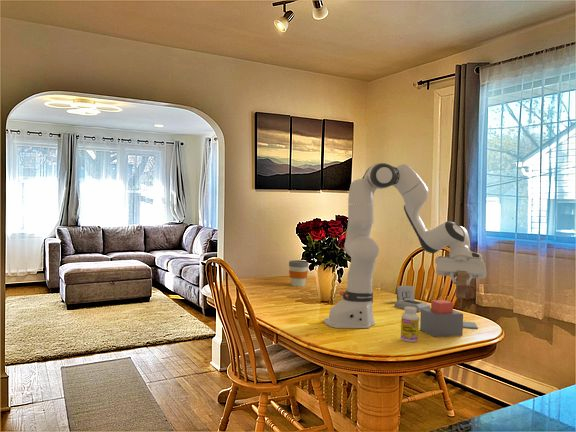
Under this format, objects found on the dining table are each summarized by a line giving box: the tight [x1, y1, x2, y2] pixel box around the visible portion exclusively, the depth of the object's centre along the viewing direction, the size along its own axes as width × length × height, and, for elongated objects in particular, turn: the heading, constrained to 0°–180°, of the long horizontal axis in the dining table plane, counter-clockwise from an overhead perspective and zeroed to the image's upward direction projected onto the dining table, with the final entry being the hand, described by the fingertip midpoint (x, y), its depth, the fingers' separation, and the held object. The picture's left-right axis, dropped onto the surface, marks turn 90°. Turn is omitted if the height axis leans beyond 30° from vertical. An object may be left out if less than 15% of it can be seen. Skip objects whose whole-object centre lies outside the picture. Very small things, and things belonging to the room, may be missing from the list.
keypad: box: [394, 299, 431, 313], centre depth 242 cm, size 10×4×15 cm
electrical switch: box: [395, 285, 416, 302], centre depth 255 cm, size 9×5×9 cm, turn 104°
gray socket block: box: [419, 307, 464, 338], centre depth 197 cm, size 13×11×9 cm
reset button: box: [430, 299, 454, 314], centre depth 197 cm, size 6×6×5 cm
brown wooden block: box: [455, 270, 468, 299], centre depth 197 cm, size 4×4×11 cm
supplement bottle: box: [400, 306, 420, 343], centre depth 185 cm, size 7×7×13 cm
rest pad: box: [463, 321, 479, 330], centre depth 210 cm, size 9×9×1 cm
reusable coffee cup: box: [288, 259, 309, 287], centre depth 300 cm, size 13×12×15 cm
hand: (461, 283), depth 197 cm, fingers closed on brown wooden block, 4 cm apart
